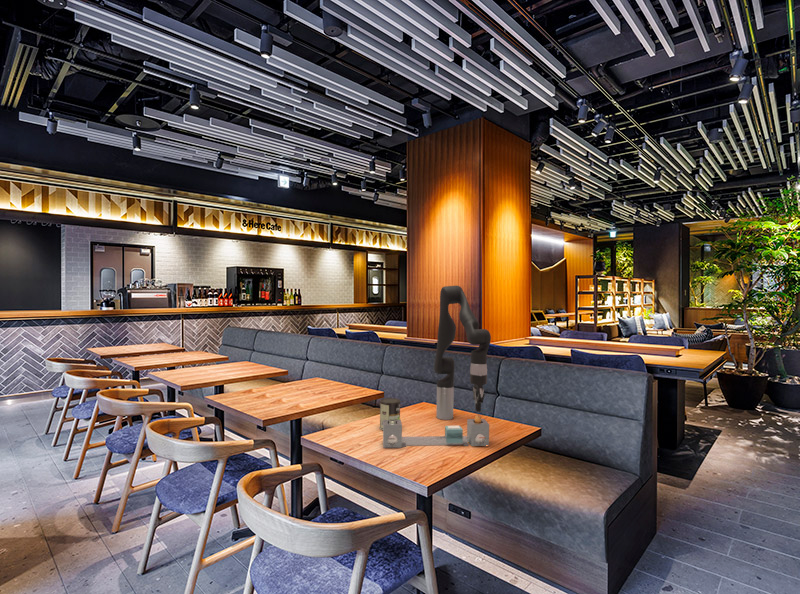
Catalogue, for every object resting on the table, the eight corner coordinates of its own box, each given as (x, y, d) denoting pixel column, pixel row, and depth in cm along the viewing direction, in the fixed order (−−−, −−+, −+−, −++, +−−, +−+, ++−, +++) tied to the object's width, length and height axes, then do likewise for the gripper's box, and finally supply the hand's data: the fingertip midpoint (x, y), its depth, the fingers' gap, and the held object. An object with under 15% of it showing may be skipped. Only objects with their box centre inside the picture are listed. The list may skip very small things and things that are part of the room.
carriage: (444, 439, 191) (445, 425, 191) (459, 438, 191) (460, 424, 191) (447, 443, 185) (447, 428, 185) (462, 443, 186) (462, 428, 186)
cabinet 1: (382, 441, 190) (383, 418, 190) (400, 441, 191) (400, 418, 191) (383, 448, 181) (383, 424, 181) (401, 448, 182) (402, 424, 182)
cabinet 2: (467, 440, 193) (467, 419, 193) (483, 440, 193) (484, 418, 193) (471, 447, 184) (471, 424, 184) (489, 447, 185) (489, 424, 185)
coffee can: (401, 425, 214) (401, 398, 214) (398, 432, 203) (398, 403, 203) (381, 424, 215) (382, 397, 215) (377, 430, 205) (378, 402, 205)
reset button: (474, 424, 190) (474, 415, 190) (480, 424, 191) (480, 415, 191) (475, 426, 188) (475, 417, 188) (481, 426, 188) (481, 416, 188)
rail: (400, 442, 190) (400, 435, 190) (465, 441, 192) (465, 434, 192) (401, 446, 184) (401, 440, 184) (468, 446, 186) (468, 439, 186)
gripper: (467, 370, 195) (466, 407, 195) (474, 375, 182) (473, 415, 182) (482, 370, 196) (482, 407, 196) (490, 375, 183) (490, 415, 183)
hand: (478, 411), depth 189 cm, fingers closed
